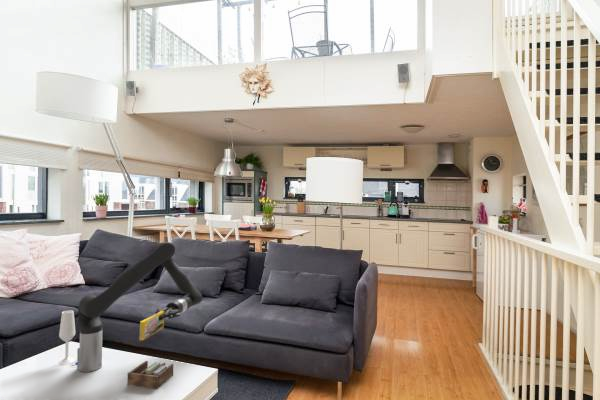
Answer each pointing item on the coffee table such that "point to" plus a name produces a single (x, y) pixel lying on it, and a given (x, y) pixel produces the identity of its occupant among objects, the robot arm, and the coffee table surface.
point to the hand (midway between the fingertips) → (157, 318)
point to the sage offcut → (152, 367)
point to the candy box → (151, 325)
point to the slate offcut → (159, 370)
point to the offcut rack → (149, 376)
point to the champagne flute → (67, 332)
